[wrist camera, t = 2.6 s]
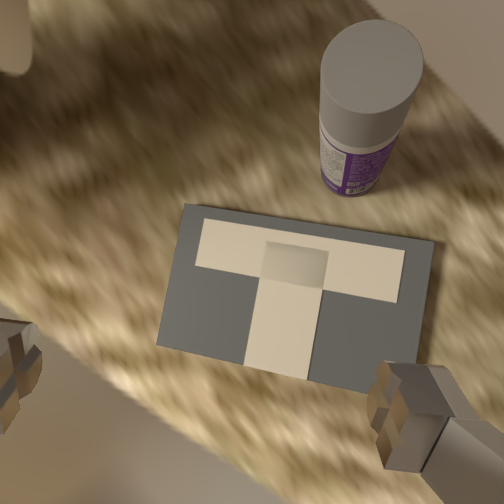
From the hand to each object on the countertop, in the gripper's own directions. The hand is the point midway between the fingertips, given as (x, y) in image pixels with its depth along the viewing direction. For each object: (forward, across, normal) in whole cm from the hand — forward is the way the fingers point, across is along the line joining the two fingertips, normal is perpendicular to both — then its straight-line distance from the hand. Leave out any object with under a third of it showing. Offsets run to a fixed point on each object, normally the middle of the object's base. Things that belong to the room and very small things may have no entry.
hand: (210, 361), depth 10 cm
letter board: (+20, -5, +10) cm, 23 cm away
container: (+25, -9, +1) cm, 26 cm away
